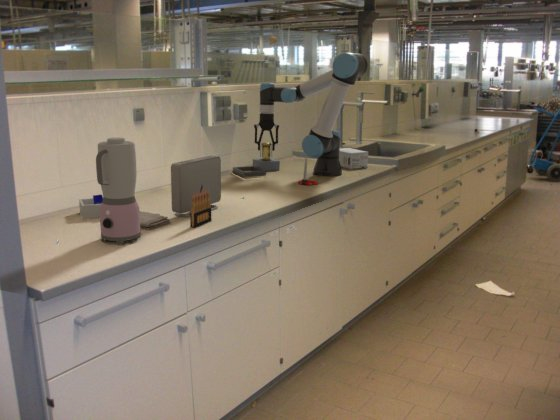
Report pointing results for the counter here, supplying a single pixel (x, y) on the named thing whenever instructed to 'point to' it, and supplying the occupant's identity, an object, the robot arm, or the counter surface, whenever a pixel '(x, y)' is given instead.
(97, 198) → the cable clip
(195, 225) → the ammunition clip
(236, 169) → the tray
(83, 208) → the box
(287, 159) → the counter surface
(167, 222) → the washcloth
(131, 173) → the blender
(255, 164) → the block
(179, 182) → the network device
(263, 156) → the amber glass vase
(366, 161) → the supplement box
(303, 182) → the red base upright rod
